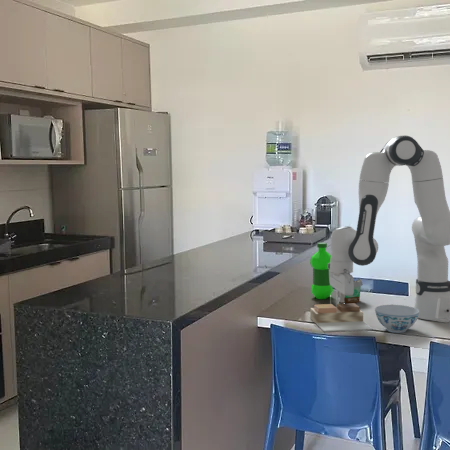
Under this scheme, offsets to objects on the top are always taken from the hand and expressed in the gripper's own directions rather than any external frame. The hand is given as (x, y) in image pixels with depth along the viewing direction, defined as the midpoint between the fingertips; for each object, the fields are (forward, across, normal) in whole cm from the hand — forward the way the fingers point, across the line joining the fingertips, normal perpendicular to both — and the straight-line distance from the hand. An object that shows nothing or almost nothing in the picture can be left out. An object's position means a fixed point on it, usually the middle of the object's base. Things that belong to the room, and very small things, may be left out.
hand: (340, 301), depth 217 cm
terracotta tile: (+1, -8, +9) cm, 12 cm away
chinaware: (+6, -24, -13) cm, 28 cm away
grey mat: (+5, -17, +4) cm, 18 cm away
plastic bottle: (+6, +30, -1) cm, 31 cm away
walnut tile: (0, -8, 0) cm, 8 cm away
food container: (+6, +18, -11) cm, 22 cm away
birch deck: (+5, -7, +4) cm, 10 cm away
